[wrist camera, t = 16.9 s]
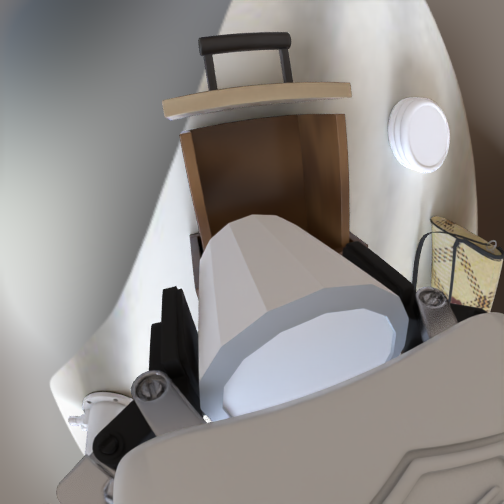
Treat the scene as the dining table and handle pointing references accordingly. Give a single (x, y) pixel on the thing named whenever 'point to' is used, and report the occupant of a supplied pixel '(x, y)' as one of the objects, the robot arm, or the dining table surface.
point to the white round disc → (419, 134)
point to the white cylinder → (286, 317)
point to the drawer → (266, 149)
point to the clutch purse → (462, 265)
